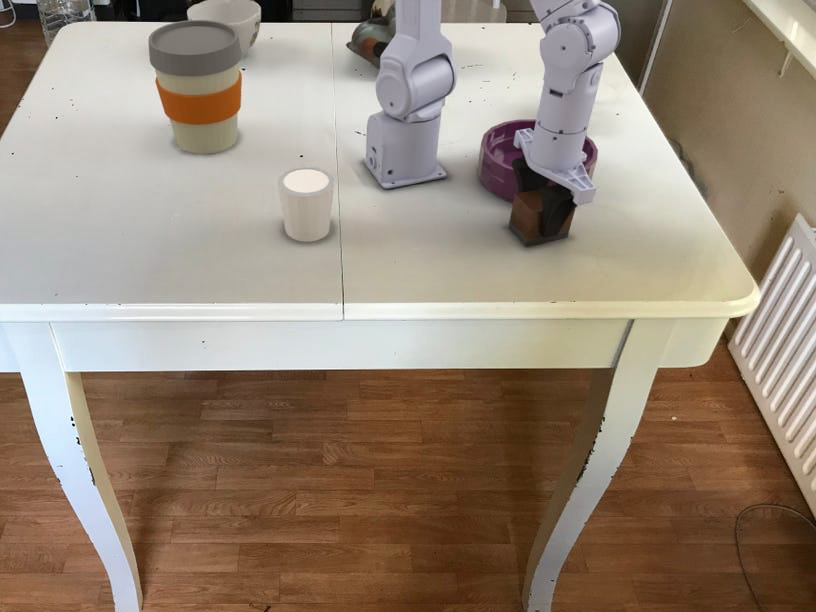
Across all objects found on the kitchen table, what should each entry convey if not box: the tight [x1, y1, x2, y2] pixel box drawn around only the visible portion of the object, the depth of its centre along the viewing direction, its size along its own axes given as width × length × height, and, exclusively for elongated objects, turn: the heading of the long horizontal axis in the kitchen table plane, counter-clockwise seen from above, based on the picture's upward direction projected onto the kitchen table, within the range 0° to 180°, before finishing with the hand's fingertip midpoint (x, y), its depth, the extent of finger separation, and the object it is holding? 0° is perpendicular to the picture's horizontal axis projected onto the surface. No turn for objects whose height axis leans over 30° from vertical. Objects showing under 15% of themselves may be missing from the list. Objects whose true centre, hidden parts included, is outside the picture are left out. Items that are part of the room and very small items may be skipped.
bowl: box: [476, 118, 599, 204], centre depth 102 cm, size 15×15×5 cm
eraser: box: [508, 189, 576, 248], centre depth 93 cm, size 6×4×5 cm
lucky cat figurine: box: [345, 0, 396, 71], centre depth 127 cm, size 15×12×14 cm
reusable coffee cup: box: [148, 19, 243, 155], centre depth 106 cm, size 13×13×15 cm
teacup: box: [186, 0, 262, 60], centre depth 129 cm, size 15×12×8 cm
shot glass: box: [277, 165, 335, 243], centre depth 93 cm, size 7×7×7 cm
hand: (539, 224), depth 94 cm, fingers closed on eraser, 4 cm apart
